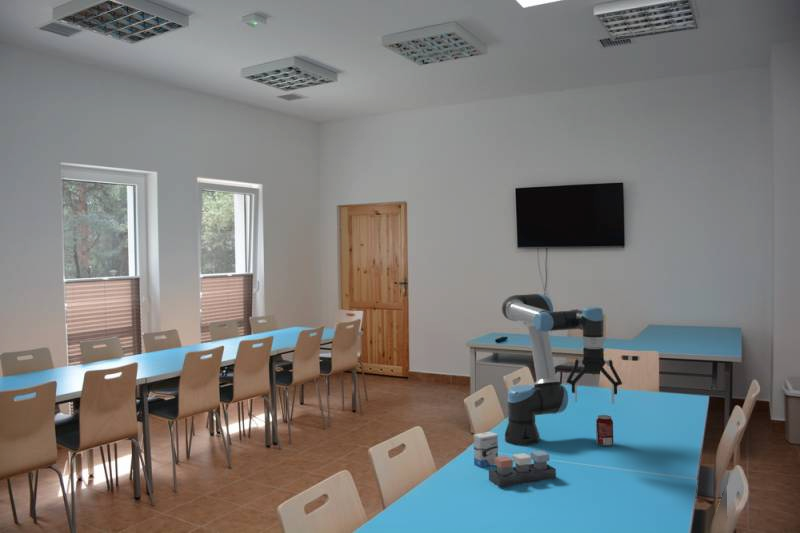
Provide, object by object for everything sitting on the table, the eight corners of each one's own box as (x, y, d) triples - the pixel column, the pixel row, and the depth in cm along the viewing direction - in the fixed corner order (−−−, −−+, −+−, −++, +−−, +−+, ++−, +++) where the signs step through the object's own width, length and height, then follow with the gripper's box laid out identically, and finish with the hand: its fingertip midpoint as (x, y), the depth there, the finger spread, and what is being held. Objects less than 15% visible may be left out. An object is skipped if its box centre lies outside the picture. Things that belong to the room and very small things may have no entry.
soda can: (614, 447, 257) (613, 418, 257) (597, 446, 259) (597, 418, 258) (612, 442, 264) (611, 414, 264) (595, 441, 265) (595, 414, 265)
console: (499, 487, 217) (499, 478, 217) (489, 480, 225) (488, 470, 224) (555, 478, 224) (555, 469, 224) (544, 471, 232) (543, 462, 232)
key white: (519, 473, 221) (519, 458, 221) (513, 469, 226) (512, 454, 226) (531, 471, 223) (531, 457, 223) (524, 467, 227) (524, 453, 227)
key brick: (501, 476, 219) (500, 461, 219) (494, 472, 223) (494, 457, 223) (513, 474, 220) (512, 459, 220) (506, 470, 225) (506, 455, 225)
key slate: (538, 470, 224) (537, 456, 224) (531, 466, 228) (530, 452, 228) (549, 469, 225) (549, 454, 225) (542, 464, 230) (542, 450, 230)
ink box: (481, 468, 237) (480, 437, 237) (473, 464, 242) (472, 434, 242) (499, 463, 241) (498, 434, 241) (491, 460, 246) (490, 430, 245)
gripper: (559, 348, 237) (560, 402, 238) (628, 349, 230) (629, 405, 231) (560, 345, 245) (561, 398, 245) (627, 346, 238) (627, 400, 238)
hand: (594, 402), depth 238 cm, fingers open, 13 cm apart
